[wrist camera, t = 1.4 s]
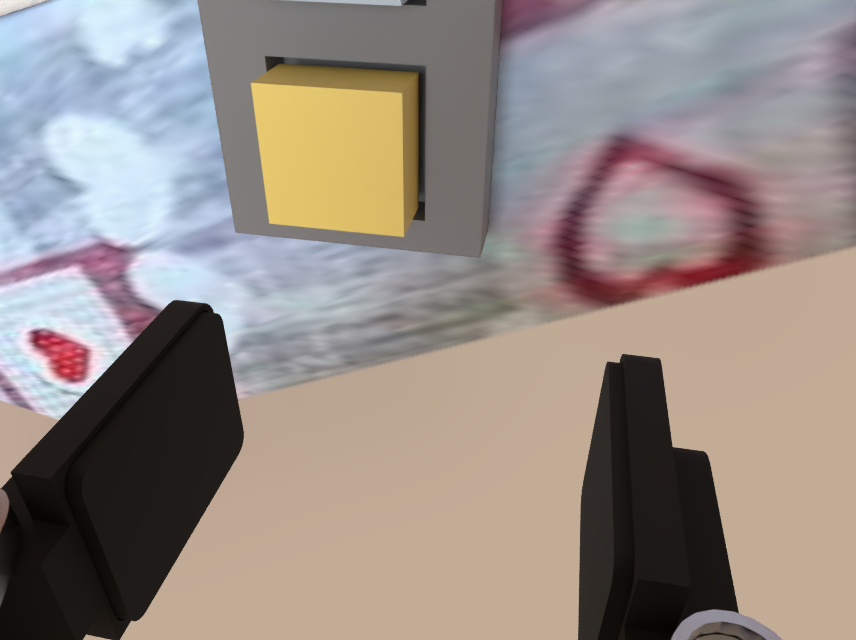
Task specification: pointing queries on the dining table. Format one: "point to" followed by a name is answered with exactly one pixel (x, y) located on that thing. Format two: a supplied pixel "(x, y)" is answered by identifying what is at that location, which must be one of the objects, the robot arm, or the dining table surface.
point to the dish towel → (16, 5)
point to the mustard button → (339, 147)
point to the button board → (381, 50)
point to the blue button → (361, 1)
